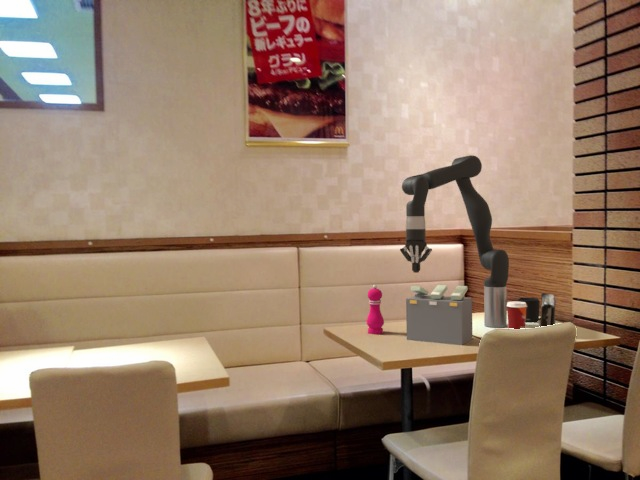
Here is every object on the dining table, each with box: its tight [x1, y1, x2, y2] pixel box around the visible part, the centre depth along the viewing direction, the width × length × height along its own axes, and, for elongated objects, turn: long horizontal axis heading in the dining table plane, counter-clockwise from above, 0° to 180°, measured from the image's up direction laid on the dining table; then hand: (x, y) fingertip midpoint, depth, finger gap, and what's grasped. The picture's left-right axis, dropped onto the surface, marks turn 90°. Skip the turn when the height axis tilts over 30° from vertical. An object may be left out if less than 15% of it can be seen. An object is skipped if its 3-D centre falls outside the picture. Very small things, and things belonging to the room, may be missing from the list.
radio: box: [537, 292, 557, 328], centre depth 233 cm, size 23×9×15 cm, turn 150°
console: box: [405, 293, 473, 346], centre depth 225 cm, size 13×22×17 cm, turn 58°
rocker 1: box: [410, 285, 429, 295], centre depth 229 cm, size 9×4×2 cm, turn 148°
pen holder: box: [517, 297, 541, 323], centre depth 260 cm, size 9×9×10 cm
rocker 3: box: [449, 285, 468, 300], centre depth 220 cm, size 9×4×2 cm, turn 148°
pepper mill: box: [366, 284, 385, 335], centre depth 240 cm, size 7×7×20 cm
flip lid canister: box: [506, 301, 527, 329], centre depth 223 cm, size 8×8×14 cm
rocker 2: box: [429, 284, 448, 299], centre depth 224 cm, size 9×4×2 cm, turn 149°
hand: (416, 272), depth 225 cm, fingers closed
